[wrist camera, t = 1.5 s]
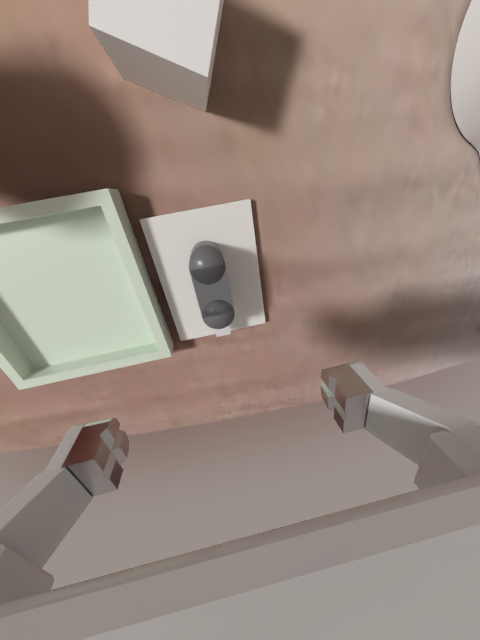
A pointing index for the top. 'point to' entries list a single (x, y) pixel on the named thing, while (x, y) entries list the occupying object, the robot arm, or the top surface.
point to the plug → (212, 286)
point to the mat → (237, 250)
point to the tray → (74, 291)
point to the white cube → (161, 43)
